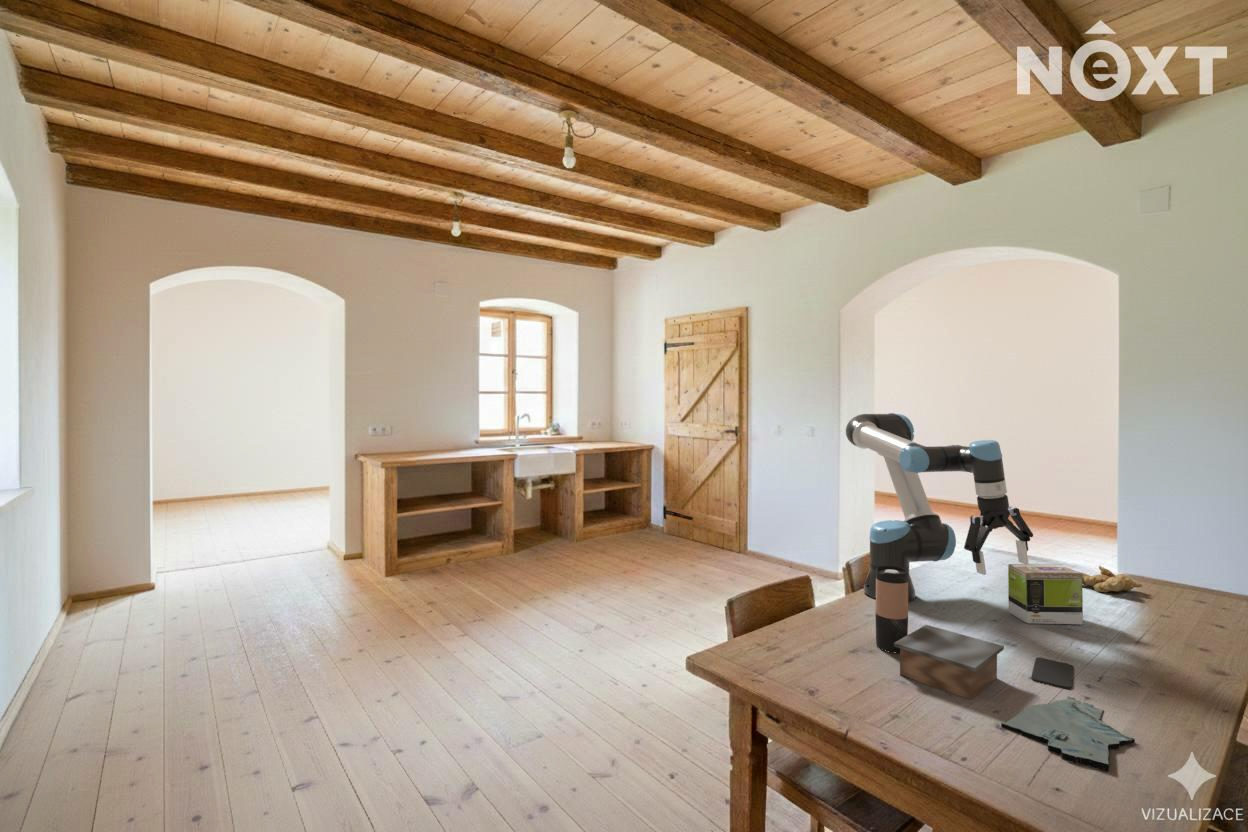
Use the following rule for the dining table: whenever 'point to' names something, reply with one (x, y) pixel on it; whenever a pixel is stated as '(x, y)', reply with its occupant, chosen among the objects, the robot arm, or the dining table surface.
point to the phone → (1053, 673)
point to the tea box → (1045, 593)
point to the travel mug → (891, 606)
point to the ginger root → (1109, 581)
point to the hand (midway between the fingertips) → (1002, 568)
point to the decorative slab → (1070, 731)
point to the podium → (948, 660)
